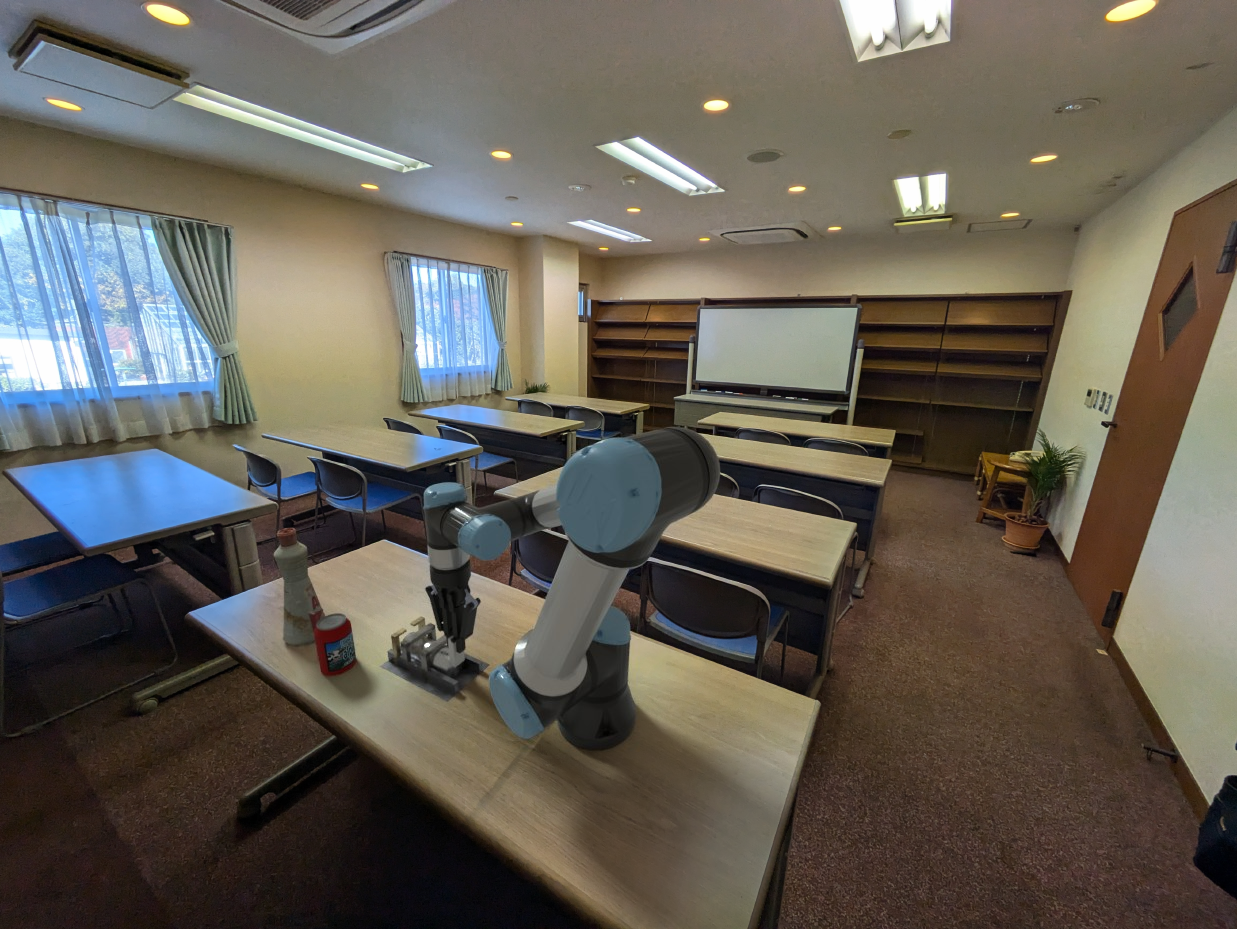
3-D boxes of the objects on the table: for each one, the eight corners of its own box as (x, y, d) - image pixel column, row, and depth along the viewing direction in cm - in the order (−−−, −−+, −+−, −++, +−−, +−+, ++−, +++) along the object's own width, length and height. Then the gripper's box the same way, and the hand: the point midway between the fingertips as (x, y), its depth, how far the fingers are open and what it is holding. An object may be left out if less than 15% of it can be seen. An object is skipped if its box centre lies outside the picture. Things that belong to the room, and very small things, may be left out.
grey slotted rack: (489, 668, 102) (488, 636, 99) (447, 705, 91) (444, 671, 89) (425, 639, 110) (422, 609, 108) (380, 670, 100) (376, 637, 98)
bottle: (281, 634, 110) (259, 526, 102) (325, 620, 116) (307, 516, 108) (286, 653, 104) (263, 540, 96) (332, 637, 110) (314, 529, 102)
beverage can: (340, 682, 96) (332, 633, 93) (313, 676, 98) (304, 627, 94) (364, 660, 103) (357, 613, 99) (337, 655, 104) (330, 609, 101)
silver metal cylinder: (464, 669, 100) (464, 648, 99) (446, 682, 96) (446, 660, 95) (419, 647, 106) (419, 627, 105) (400, 658, 102) (400, 638, 101)
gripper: (489, 561, 90) (493, 662, 97) (441, 545, 96) (448, 642, 103) (460, 578, 84) (467, 685, 91) (410, 560, 90) (420, 662, 96)
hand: (457, 662), depth 97 cm, fingers closed
